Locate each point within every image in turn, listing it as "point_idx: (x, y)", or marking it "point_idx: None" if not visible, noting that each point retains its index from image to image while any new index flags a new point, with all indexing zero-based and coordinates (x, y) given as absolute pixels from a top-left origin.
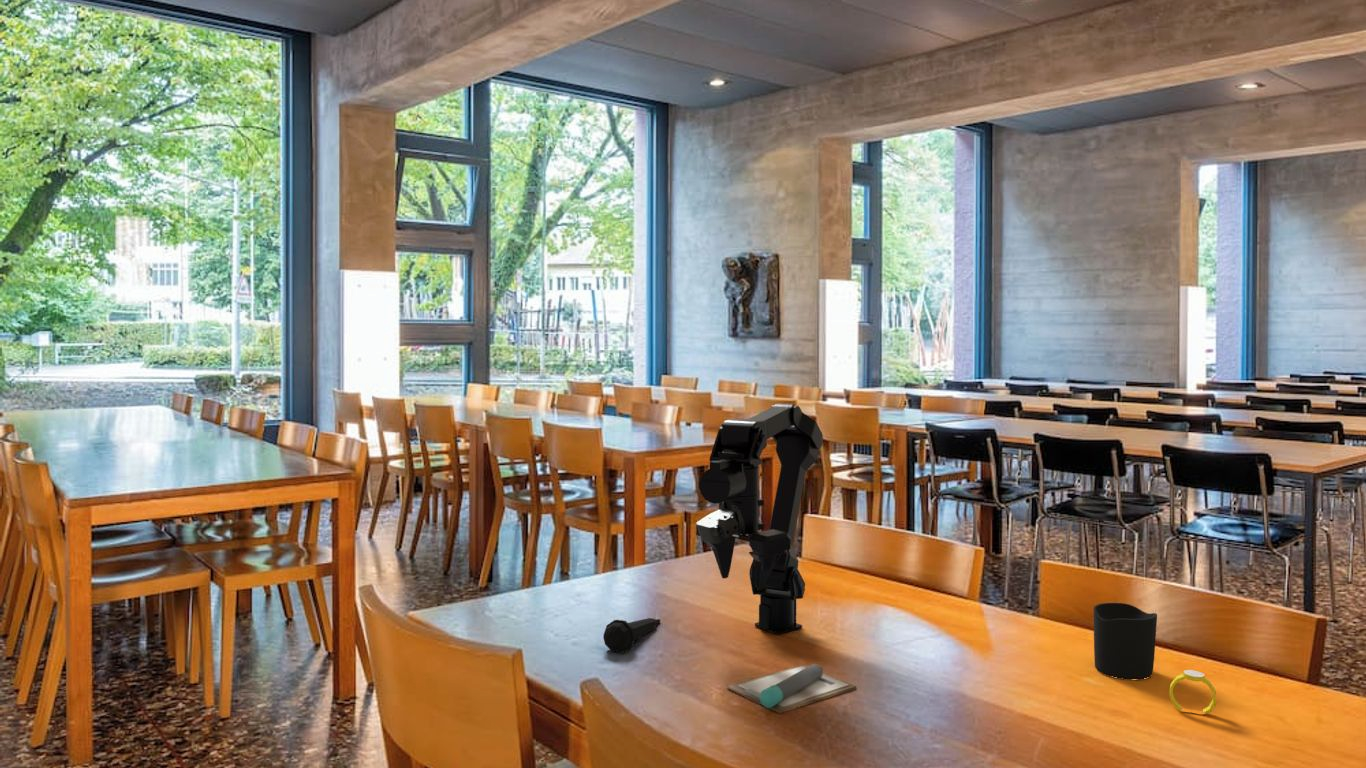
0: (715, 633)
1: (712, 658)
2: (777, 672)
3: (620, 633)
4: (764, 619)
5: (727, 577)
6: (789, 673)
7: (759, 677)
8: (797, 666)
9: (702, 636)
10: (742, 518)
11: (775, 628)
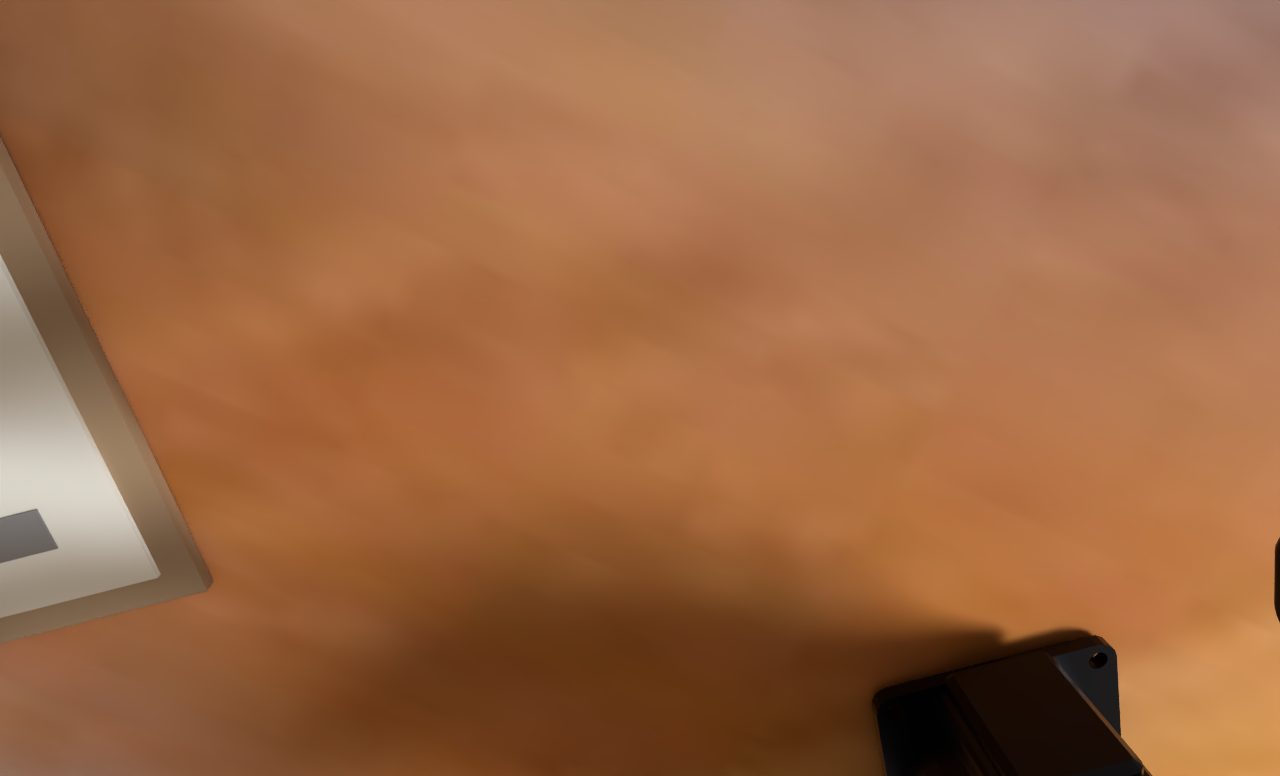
0: (1136, 332)
1: (633, 50)
2: (93, 367)
3: None
4: (1012, 704)
5: (1277, 613)
6: (20, 430)
7: (10, 188)
8: (183, 547)
9: (1136, 209)
10: None
11: (934, 719)
